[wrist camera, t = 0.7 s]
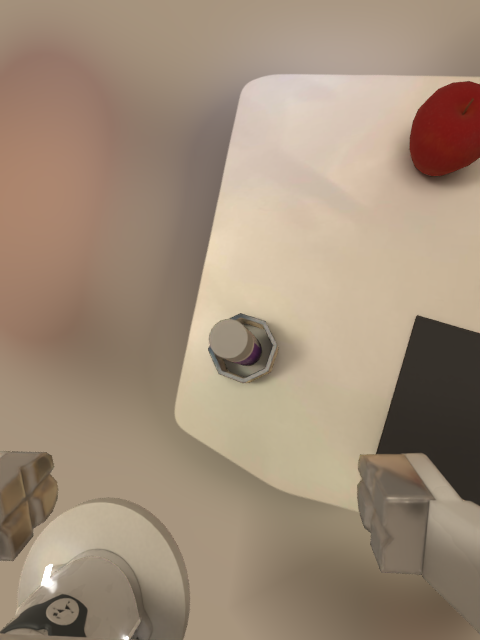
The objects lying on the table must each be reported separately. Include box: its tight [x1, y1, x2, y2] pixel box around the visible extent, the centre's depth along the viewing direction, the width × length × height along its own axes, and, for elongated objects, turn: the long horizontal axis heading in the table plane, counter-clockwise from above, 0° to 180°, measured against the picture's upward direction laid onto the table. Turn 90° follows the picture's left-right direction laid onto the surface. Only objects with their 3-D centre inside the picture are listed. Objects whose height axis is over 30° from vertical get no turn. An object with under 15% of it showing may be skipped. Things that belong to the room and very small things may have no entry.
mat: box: [376, 315, 480, 506], centre depth 45 cm, size 22×14×1 cm, turn 160°
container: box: [209, 319, 262, 366], centre depth 44 cm, size 5×5×15 cm
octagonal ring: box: [208, 313, 279, 383], centre depth 48 cm, size 9×9×5 cm
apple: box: [410, 81, 480, 176], centre depth 46 cm, size 11×11×12 cm
